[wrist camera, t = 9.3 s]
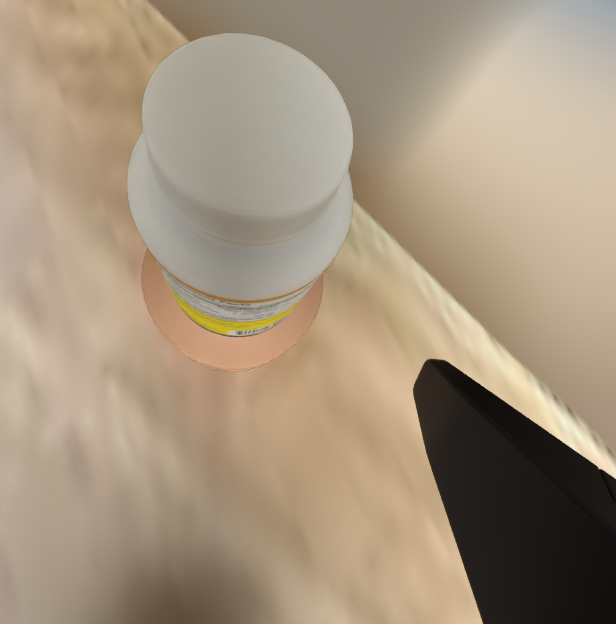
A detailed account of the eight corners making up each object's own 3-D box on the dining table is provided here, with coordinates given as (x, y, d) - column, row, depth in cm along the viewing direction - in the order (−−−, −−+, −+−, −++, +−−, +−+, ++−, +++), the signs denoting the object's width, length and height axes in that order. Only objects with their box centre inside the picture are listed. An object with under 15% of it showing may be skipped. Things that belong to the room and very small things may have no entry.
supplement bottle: (217, 198, 17) (209, -55, 7) (319, 262, 18) (437, 102, 8) (144, 297, 16) (10, 138, 6) (258, 364, 16) (310, 322, 6)
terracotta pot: (208, 401, 19) (204, 403, 15) (128, 272, 20) (104, 242, 16) (331, 321, 21) (355, 305, 18) (257, 207, 22) (264, 168, 18)
